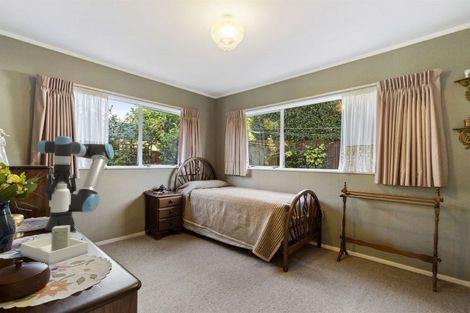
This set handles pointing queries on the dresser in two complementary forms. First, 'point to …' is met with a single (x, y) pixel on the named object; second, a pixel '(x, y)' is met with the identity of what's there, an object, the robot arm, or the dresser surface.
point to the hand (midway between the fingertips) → (59, 205)
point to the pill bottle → (61, 198)
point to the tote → (42, 251)
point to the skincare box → (60, 237)
